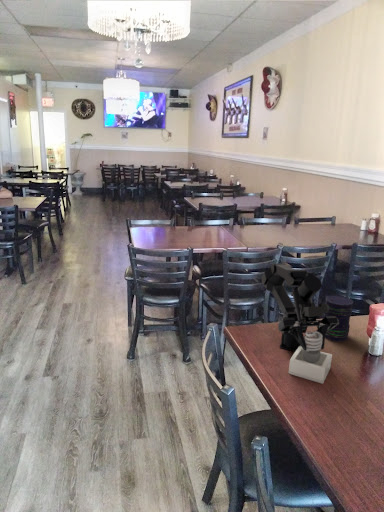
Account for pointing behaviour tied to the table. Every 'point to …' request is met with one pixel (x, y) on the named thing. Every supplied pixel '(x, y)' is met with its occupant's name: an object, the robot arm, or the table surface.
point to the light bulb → (312, 347)
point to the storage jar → (339, 317)
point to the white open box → (310, 366)
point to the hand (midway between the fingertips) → (314, 349)
